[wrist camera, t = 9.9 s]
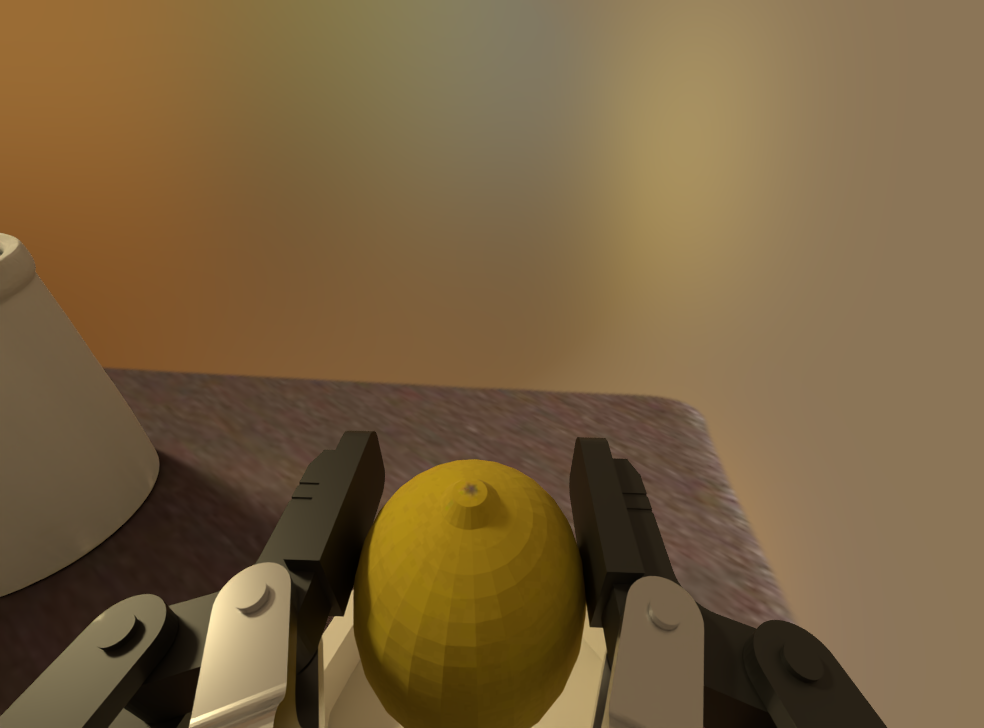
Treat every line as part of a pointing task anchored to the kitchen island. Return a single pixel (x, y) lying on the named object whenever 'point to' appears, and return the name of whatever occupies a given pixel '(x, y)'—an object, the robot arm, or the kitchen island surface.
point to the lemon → (469, 599)
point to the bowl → (365, 724)
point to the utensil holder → (58, 435)
